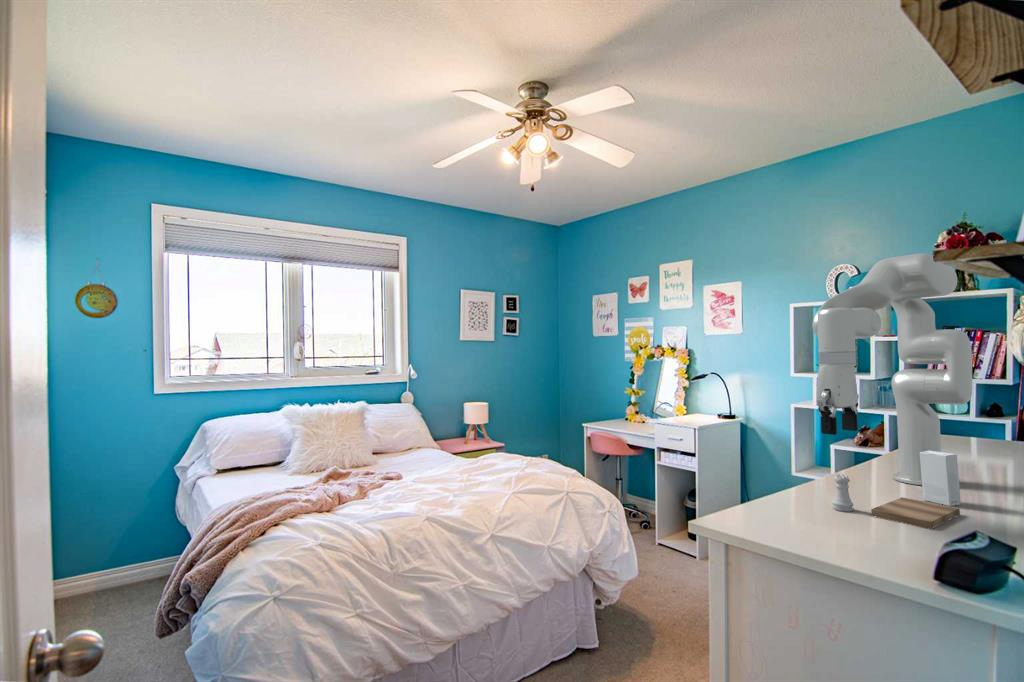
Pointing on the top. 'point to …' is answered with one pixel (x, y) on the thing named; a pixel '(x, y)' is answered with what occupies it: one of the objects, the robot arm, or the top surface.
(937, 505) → the walnut board
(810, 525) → the top surface
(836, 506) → the rook chess piece
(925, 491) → the skincare box
